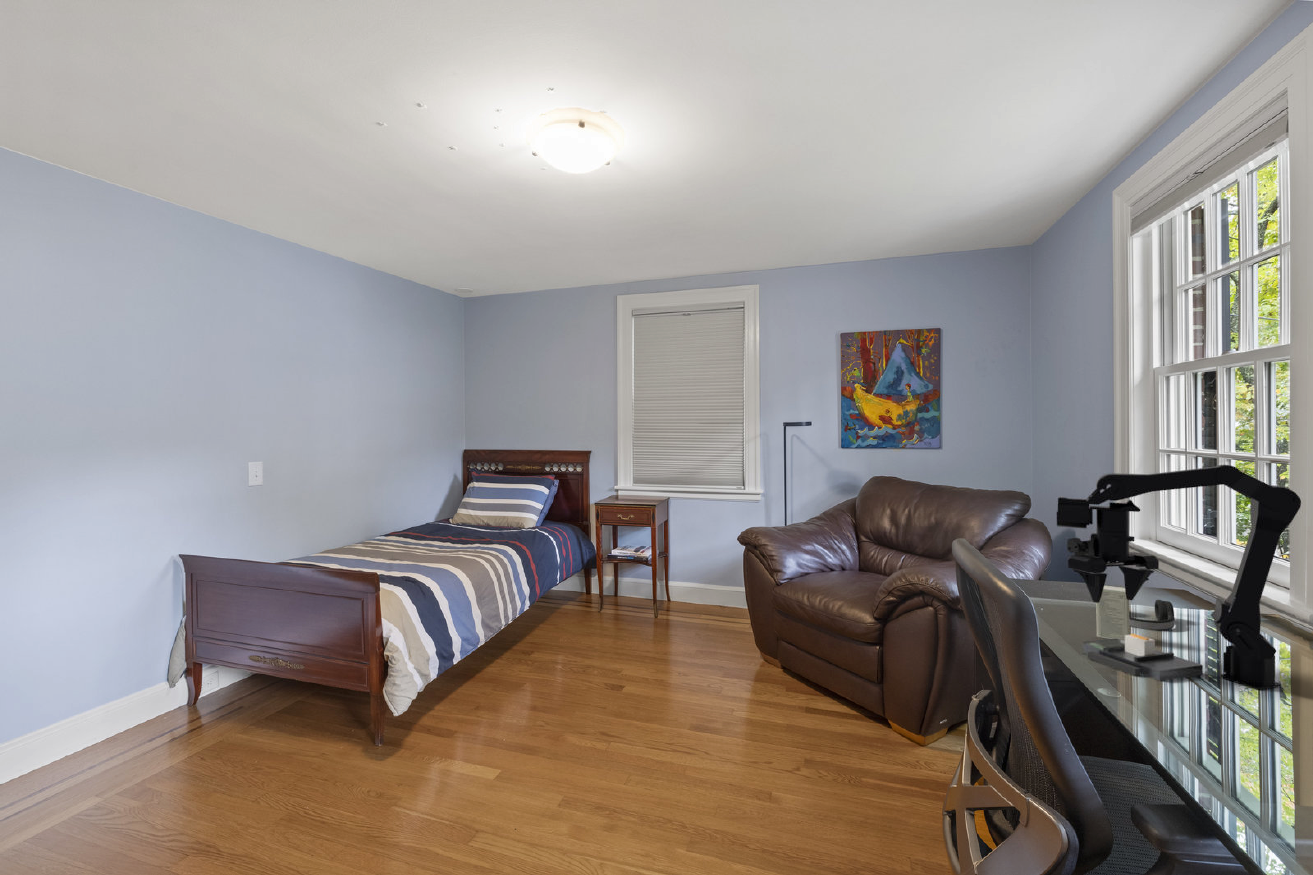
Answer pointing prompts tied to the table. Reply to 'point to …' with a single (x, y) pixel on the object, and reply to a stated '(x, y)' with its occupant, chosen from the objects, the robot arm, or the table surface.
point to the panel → (1147, 660)
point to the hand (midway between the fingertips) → (1112, 601)
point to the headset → (1163, 616)
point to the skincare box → (1113, 614)
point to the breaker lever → (1139, 645)
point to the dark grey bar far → (1100, 640)
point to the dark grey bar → (1114, 663)
